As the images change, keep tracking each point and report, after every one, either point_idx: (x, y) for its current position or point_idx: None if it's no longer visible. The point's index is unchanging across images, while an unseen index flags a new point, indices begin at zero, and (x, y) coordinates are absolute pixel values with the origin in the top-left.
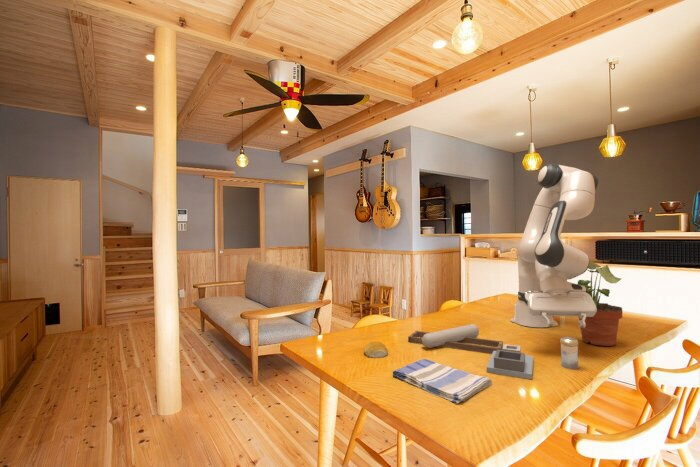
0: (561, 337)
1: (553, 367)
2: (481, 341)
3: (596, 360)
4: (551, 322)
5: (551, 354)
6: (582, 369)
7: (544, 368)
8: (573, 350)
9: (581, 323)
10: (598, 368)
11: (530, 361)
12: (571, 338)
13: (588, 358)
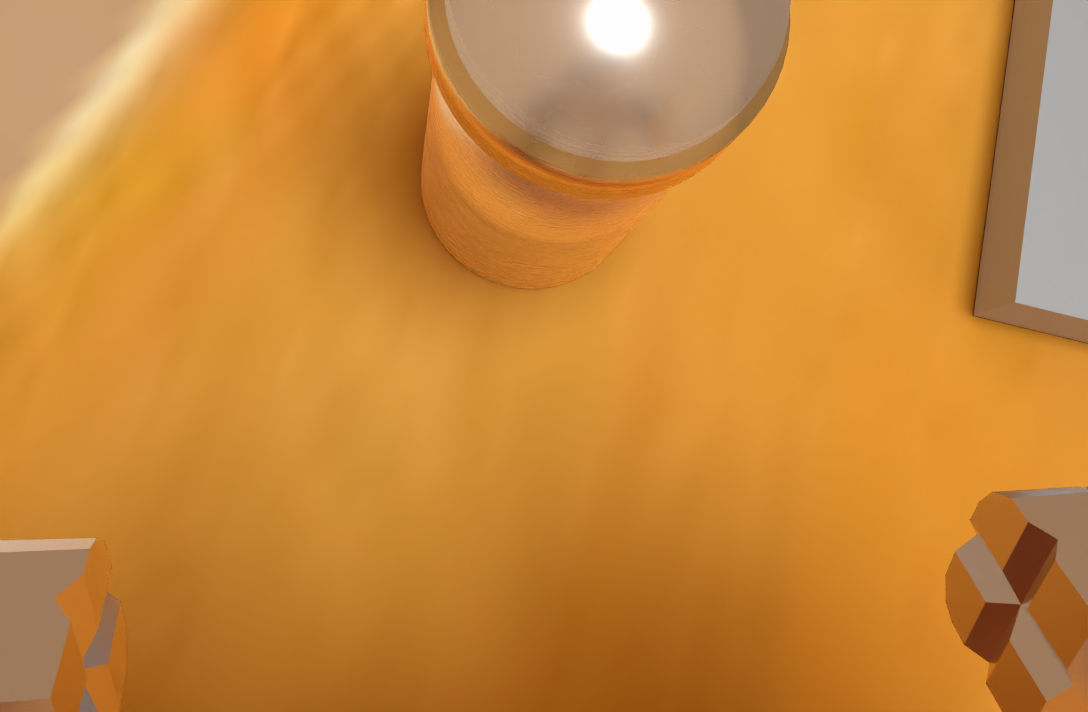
0: (760, 74)
1: None
2: None
3: None
4: (1061, 523)
5: (668, 681)
6: (388, 96)
7: (872, 44)
8: None
9: (39, 567)
10: (138, 179)
11: (1072, 55)
12: (557, 20)
13: None
